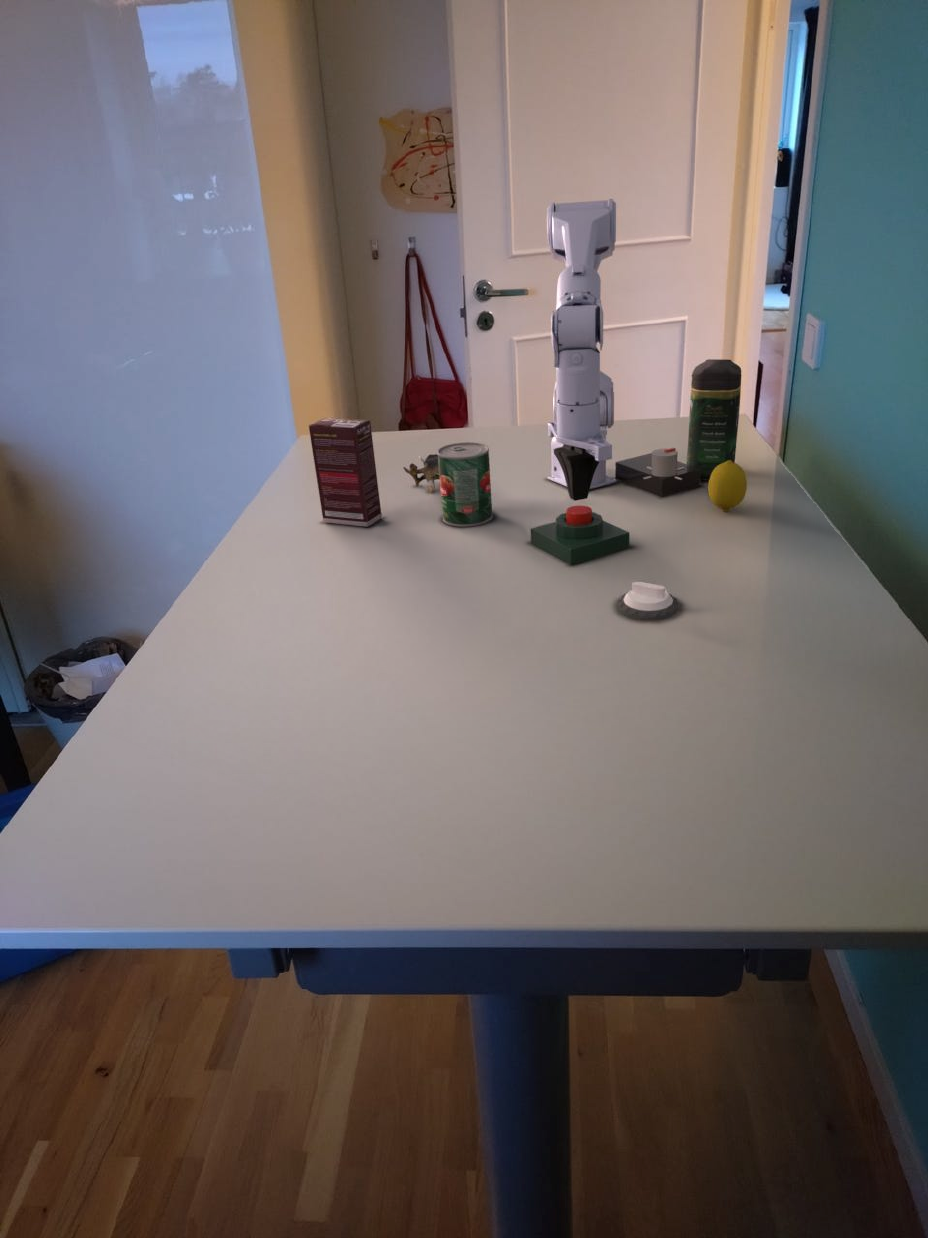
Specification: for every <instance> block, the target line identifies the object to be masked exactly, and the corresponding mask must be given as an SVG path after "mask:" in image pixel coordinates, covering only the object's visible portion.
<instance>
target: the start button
mask: <svg viewBox="0 0 928 1238" xmlns="http://www.w3.org/2000/svg"><path fill="white" fill-rule="evenodd" d="M592 512H593V508H591V507H590V506H588V505H581V504H580V505H579V504H578V505H573V506H568V507H567V508H566V510H565V513H566V522H567V523H569V524H574V525H581V524H587V523H591V522H592Z"/></svg>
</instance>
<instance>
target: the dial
mask: <svg viewBox="0 0 928 1238" xmlns="http://www.w3.org/2000/svg"><path fill="white" fill-rule="evenodd" d="M651 453H652V469H651V473H652V475H654V476H657V477H671V476H674V475H676V474H677V461H678V455H679V452H678V450H676V448H675V447H671V448H658V449H654V450H652V451H651Z"/></svg>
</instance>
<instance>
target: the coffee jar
mask: <svg viewBox="0 0 928 1238" xmlns="http://www.w3.org/2000/svg"><path fill="white" fill-rule="evenodd" d="M690 384H691V385H690V399H689V417H688V419H689V421H688V439H687V451H686V453H687V454H686V464H687V465H690V466H693V467H696V468H699V469H701V476H700V480H702V481H709V479H710V476H711V474H712V472H713V470H714V469H715V468H716V467H717V466H718V465H720V464H722V463H725V462H726V461H727V460H731V461H732V462H733V463H735V462H736V451H737V440H738V431H739V430H738V429H739V420H740V409H741V394H742V393H741V392H742V368H741V367H740V365H738V364H737V363H735V362H734V361H732V359H726V358H725V359H723V358H722V359H718V358H717V359H716V358H715V359H714V358H713V359H711V358H710V359H706V360H705V361H703V362H702V363H699V364H698V365H696V366H695V367H694V369H693V370H692V374H691V383H690Z"/></svg>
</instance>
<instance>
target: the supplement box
mask: <svg viewBox="0 0 928 1238" xmlns="http://www.w3.org/2000/svg"><path fill="white" fill-rule="evenodd" d="M308 430H309V431H308V432H309V438H310V443H311V451H312V456H313V457H312V458H313V463H314V469H315V476H316V481H317V488H318V489H317V490H318V495H319V496H318V497H319V503H320V509H321V516H322V521H323V523H326V524H336V525H346V526H356V527H366V528H368V527H370V526H371V525H373V524H375V523H376V522H377V521H379V520H380V519H382V509H381V499H380V493H379V484H378V475H377V467H376V458H375V450H374V441H373V432H372V425H371V420H369V419H349V418H332V417H331V418H328V417H324V418H321V419H319V420H317V421H315V422H312V423H311V424H309V425H308Z"/></svg>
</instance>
